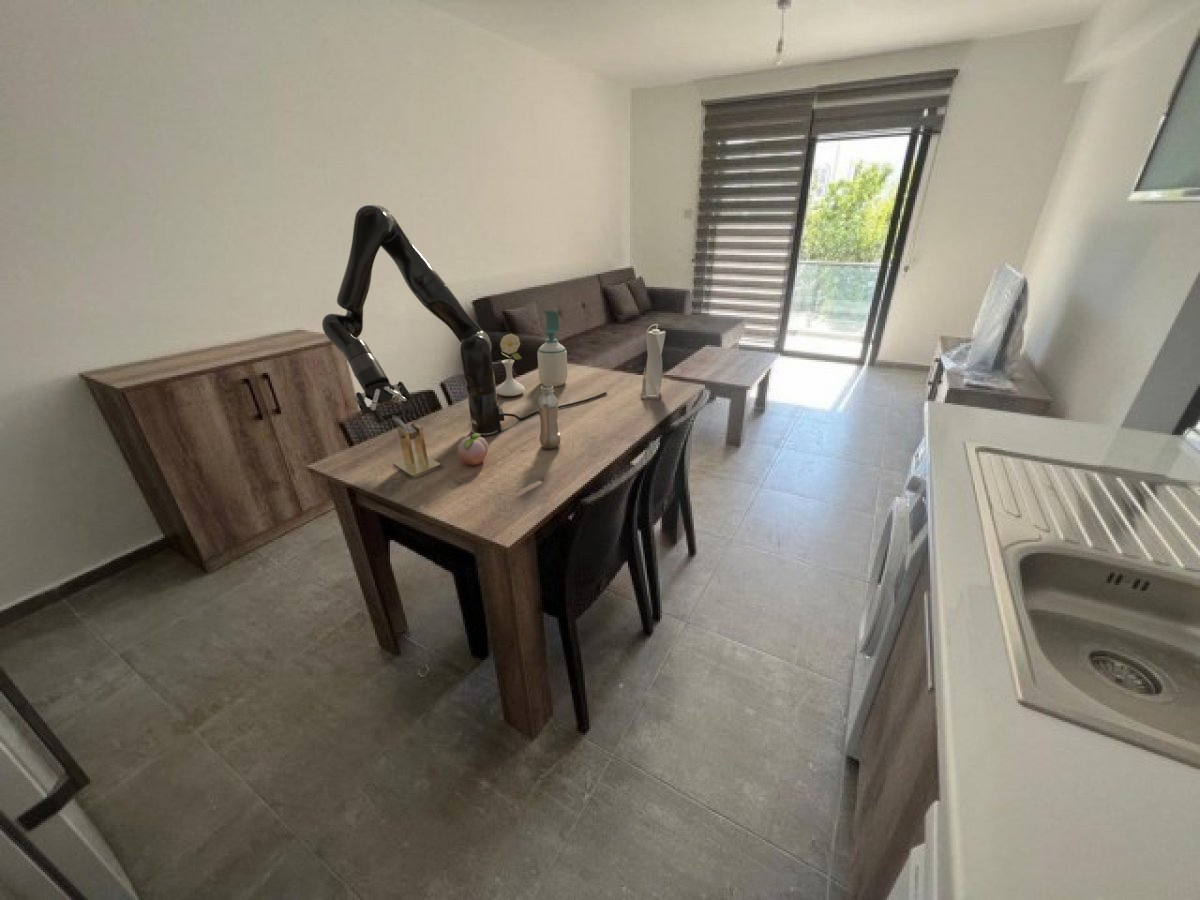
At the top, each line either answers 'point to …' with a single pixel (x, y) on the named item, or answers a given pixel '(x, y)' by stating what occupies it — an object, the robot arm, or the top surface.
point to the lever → (401, 423)
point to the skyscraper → (653, 364)
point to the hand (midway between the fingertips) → (395, 418)
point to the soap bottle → (552, 354)
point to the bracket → (410, 462)
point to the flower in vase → (510, 366)
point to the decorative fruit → (473, 449)
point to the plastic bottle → (548, 418)
